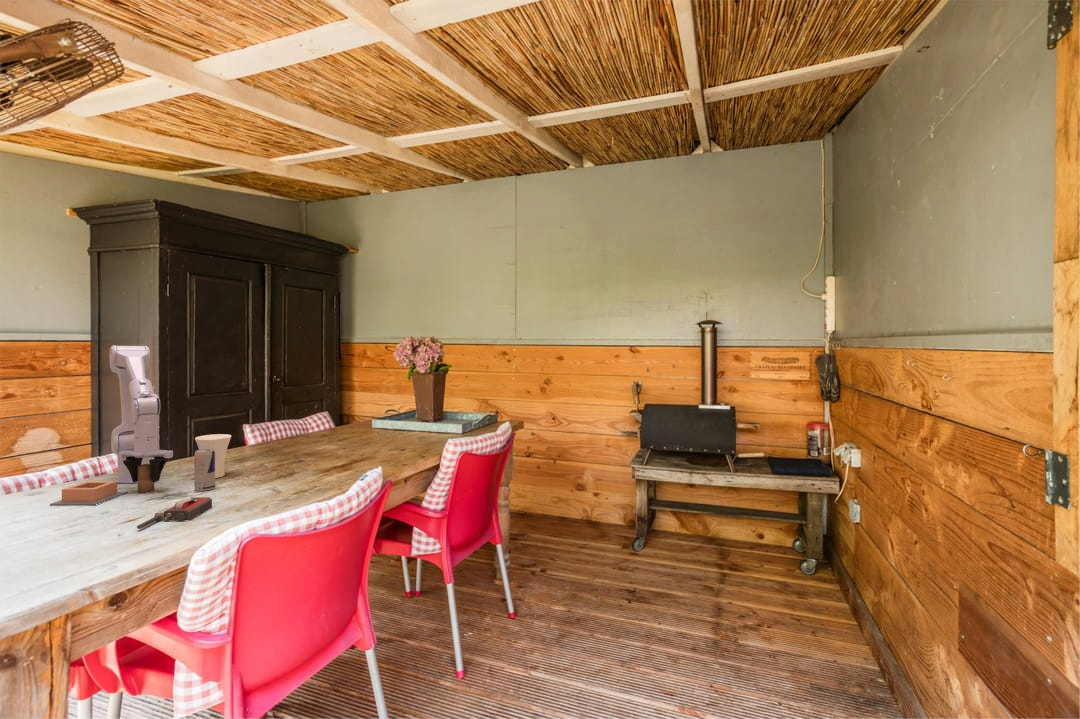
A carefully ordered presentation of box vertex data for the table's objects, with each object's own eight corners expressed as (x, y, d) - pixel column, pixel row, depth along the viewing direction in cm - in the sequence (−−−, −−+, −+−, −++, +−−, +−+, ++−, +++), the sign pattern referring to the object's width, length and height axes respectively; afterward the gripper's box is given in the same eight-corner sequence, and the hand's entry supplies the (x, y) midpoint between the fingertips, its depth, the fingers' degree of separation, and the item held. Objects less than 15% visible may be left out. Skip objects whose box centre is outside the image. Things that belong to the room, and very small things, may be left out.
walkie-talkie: (182, 507, 144) (133, 533, 124) (182, 491, 144) (133, 515, 124) (216, 507, 145) (172, 532, 125) (216, 491, 145) (172, 514, 125)
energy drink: (219, 487, 163) (219, 449, 163) (206, 492, 158) (206, 452, 158) (203, 486, 164) (203, 448, 163) (190, 491, 158) (190, 452, 158)
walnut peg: (143, 489, 160) (143, 463, 159) (157, 489, 160) (157, 463, 160) (134, 493, 156) (134, 466, 155) (148, 493, 156) (148, 466, 156)
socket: (85, 493, 155) (85, 480, 154) (127, 493, 155) (127, 479, 155) (49, 505, 143) (49, 491, 143) (96, 505, 143) (95, 491, 143)
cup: (205, 472, 181) (205, 434, 181) (237, 472, 182) (237, 434, 182) (188, 480, 171) (188, 439, 170) (222, 480, 172) (222, 439, 171)
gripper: (110, 439, 153) (110, 485, 153) (162, 439, 154) (162, 484, 154) (128, 435, 160) (128, 478, 160) (177, 435, 161) (177, 478, 161)
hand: (146, 481), depth 158 cm, fingers open, 5 cm apart
